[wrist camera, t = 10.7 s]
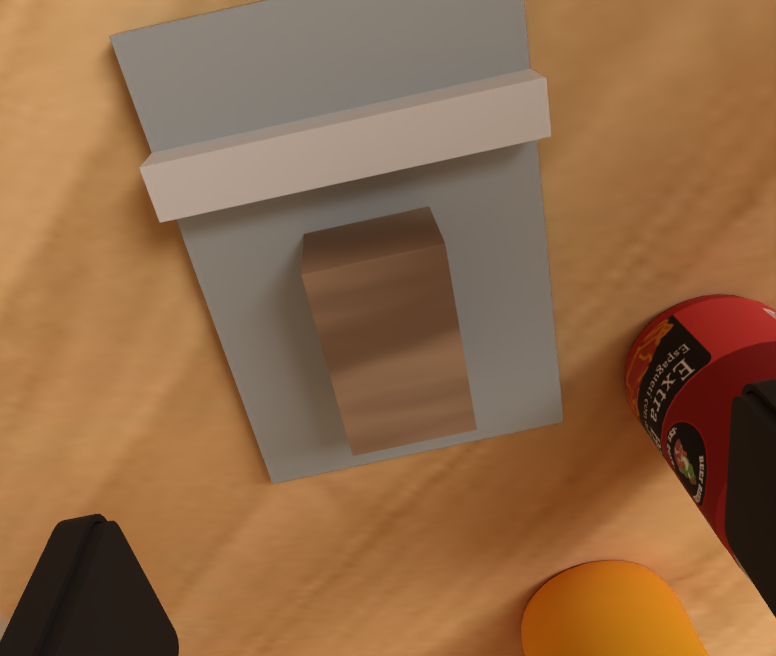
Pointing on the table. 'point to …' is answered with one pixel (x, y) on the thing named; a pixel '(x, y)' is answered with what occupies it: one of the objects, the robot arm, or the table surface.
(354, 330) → the walnut block
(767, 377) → the canned food
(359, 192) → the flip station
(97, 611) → the robot arm
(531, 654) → the beer bottle
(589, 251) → the table surface
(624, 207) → the table surface
